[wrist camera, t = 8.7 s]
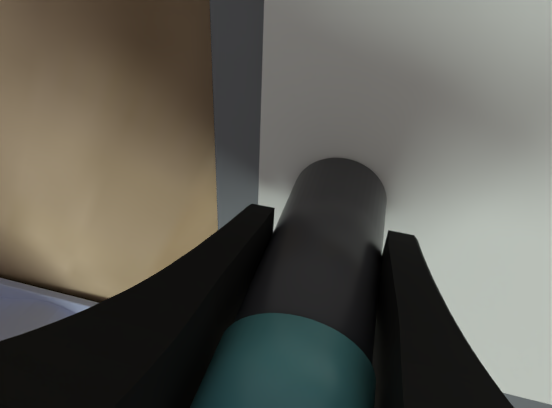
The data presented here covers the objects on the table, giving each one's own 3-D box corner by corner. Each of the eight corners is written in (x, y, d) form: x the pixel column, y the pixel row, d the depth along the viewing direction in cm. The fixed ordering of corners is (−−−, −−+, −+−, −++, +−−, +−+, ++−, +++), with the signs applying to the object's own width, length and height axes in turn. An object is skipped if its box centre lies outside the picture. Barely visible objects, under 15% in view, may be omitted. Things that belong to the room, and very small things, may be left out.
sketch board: (227, 330, 19) (220, 345, 19) (211, -228, 9) (197, -238, 8) (622, 430, 16) (630, 451, 16) (1276, -228, 6) (1379, -244, 5)
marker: (286, 228, 14) (180, 494, 8) (293, 146, 12) (163, 400, 6) (379, 247, 13) (349, 551, 7) (400, 164, 12) (385, 466, 5)
